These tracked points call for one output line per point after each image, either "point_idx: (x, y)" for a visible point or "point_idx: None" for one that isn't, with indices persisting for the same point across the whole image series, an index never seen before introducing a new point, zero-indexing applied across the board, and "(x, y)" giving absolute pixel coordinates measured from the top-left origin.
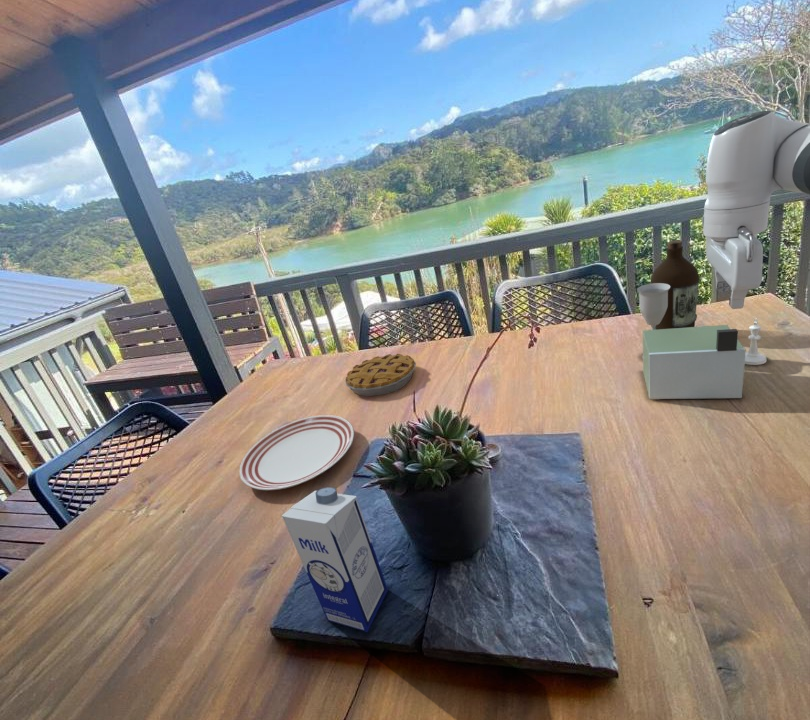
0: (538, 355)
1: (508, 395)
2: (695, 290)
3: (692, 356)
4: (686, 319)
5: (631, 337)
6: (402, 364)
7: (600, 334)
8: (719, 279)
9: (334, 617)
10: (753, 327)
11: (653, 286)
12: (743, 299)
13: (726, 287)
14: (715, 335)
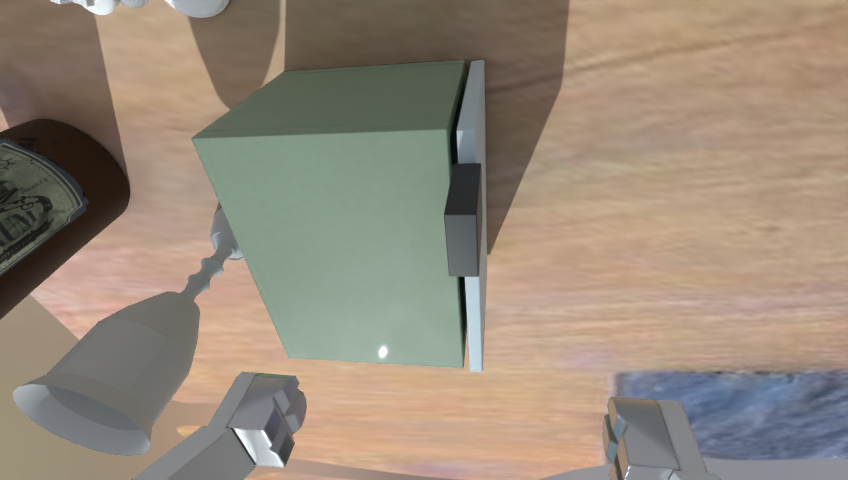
0: None
1: (463, 446)
2: None
3: (480, 272)
4: (42, 181)
5: (134, 262)
6: None
7: None
8: (237, 475)
9: None
10: (102, 1)
11: (40, 403)
12: (703, 467)
13: (282, 403)
14: (315, 196)
